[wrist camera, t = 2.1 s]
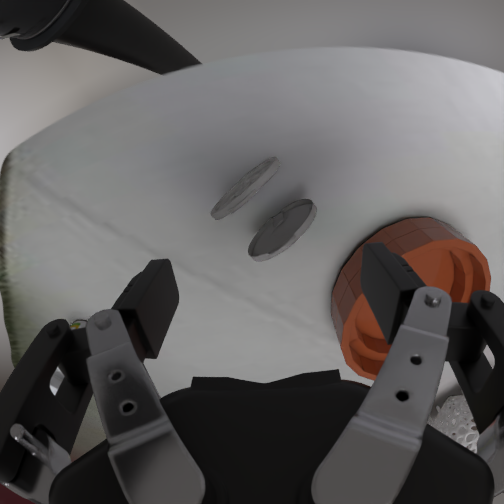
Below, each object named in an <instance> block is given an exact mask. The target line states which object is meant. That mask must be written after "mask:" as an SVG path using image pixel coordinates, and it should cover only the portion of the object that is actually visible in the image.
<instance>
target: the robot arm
mask: <svg viewBox="0 0 504 504" xmlns="http://www.w3.org/2000/svg"><path fill="white" fill-rule="evenodd" d="M71 2H72V0H0V36H2V37H0V39H5V38H8V37H15V38H19V39H23V40H30V39H33V38H36V37H38V36H40V35H41V34H43V33H44V32H46V31H47V30H48V29H49V28H50V27H51V26H53V25H54V24H55V23H56V22H57V20H58V19H59V18H60V17H61V16H62V15H63V13H64V12H65V11H66V9H67V8H68V7H69V5H70V4H71ZM360 282H361V289H362V292H363V294H364V296H365V298H366V300H367V302H368V304H369V306H370V308H371V310H372V312H373V314H374V316H375V318H376V321H377V323H378V325H379V327H380V329H381V331H382V333H383V336H384V338H385V340H386V342H387V345H390V344H392V346H391V348H390V350H389V352H388V354H387V357H386V359H385V361H384V363H383V365H382V367H381V369H380V371H379V373H378V375H377V377H376V379H375V381H374V383H373V385H372V386H371V387H370V386H367V385H365V384H362V383H359V382H355V381H349V380H341V377H340V373H339V369H337V370H329V371H320V372H311V373H302V374H299V375H295V376H292V377H288V378H285V379H281V380H278V381H274V382H270V383H257V382H251V381H245V380H240V379H234V378H229V377H193V379H192V383H191V387H189V388H185V389H181V390H178V391H175V392H172V393H170V394H168V395H166V396H164V397H162V398H161V397H160V395H159V393H158V391H157V389H156V387H155V385H154V383H153V382H152V380H151V378H150V376H149V374H148V372H147V370H146V368H145V366H144V364H143V362H144V360H145V358H150V359H157V356H158V354H159V351H160V349H161V346H162V344H163V341H164V338H165V336H166V333H167V331H168V328H169V326H170V323H171V321H172V318H173V316H174V314H175V311H176V309H177V306H178V303H179V291H178V287H177V284H176V280H175V276H174V273H173V269H172V265H171V262H170V260H169V259H157V260H151V261H150V262H149V263H148V265H147V266H146V267H145V269H144V270H143V272H140V273H139V274H137V275H136V276H135V277H133V278H132V280H131V281H130V282H129V284H128V285H127V287H126V288H125V289H124V291H123V293H122V294H121V295H120V296H119V298H118V299H117V301H116V302H115V304H114V305H113V307H112V308H111V309H106V310H102V311H99V312H97V313H95V314H94V315H92V316H91V317H90V318H89V319H88V321H87V323H86V326H85V327H83V328H78V329H73V330H72V329H71V328H70V326H69V324H68V322H67V321H66V320H64V319H57V320H54V321H51V322H49V323H48V324H47V325H45V326H44V327H43V328H42V329H41V331H40V332H39V334H38V335H37V336H36V338H35V339H34V341H33V342H32V343H31V345H30V346H29V348H28V349H27V351H26V352H25V354H24V355H23V357H22V358H21V360H20V361H19V363H18V364H17V366H16V367H15V369H14V371H13V372H12V374H11V375H10V377H9V379H8V380H7V382H6V384H5V385H4V387H3V389H2V390H1V392H0V483H1V484H3V485H4V486H6V487H7V488H9V489H10V490H12V491H13V492H15V493H17V494H18V495H20V496H22V497H24V498H27V499H29V500H30V501H32V502H34V503H36V504H492V502H493V498H494V497H496V496H497V495H499V494H501V493H504V303H503V302H502V301H501V299H500V298H499V297H498V296H496V295H495V294H493V293H491V292H489V291H486V290H477V291H474V292H473V293H472V294H471V297H470V300H469V303H463V302H452V300H451V297H450V296H449V294H448V293H446V292H445V291H443V290H442V289H439V288H436V287H431V286H427V285H426V284H425V283H424V282H423V280H422V279H421V278H420V277H419V276H418V274H417V273H416V272H415V271H414V270H413V268H412V267H411V266H409V264H408V262H407V261H406V260H405V259H404V258H403V257H401V256H400V255H398V254H396V253H391V252H390V250H389V249H388V248H387V247H386V246H385V245H384V243H383V242H374V243H365V244H364V246H363V253H362V265H361V276H360ZM486 345H488V346H489V348H490V350H491V351H492V353H493V355H494V358H495V365H494V369H492V367H491V365H490V363H489V362H488V360H487V358H486V356H485V355H484V353H483V351H484V349H485V347H486ZM445 361H449V363H450V365H451V367H452V370H453V372H454V374H455V376H456V378H457V380H458V383H459V385H460V387H461V389H462V392H463V394H464V396H465V399H466V401H467V404H468V406H469V409H470V411H471V414H472V416H473V419H474V421H475V424H476V427H477V430H478V432H479V435H480V436H479V438H478V441H477V452H476V453H474V452H473V451H471V450H469V449H468V448H466V447H464V446H463V445H461V444H459V443H458V442H456V441H454V440H453V439H451V438H450V437H448V436H446V435H445V434H443V433H442V432H440V431H438V430H437V429H435V428H434V427H432V426H431V425H429V424H427V421H428V418H429V415H430V412H431V409H432V406H433V403H434V400H435V397H436V393H437V390H438V386H439V383H440V379H441V375H442V371H443V367H444V363H445ZM57 367H58V368H59V369H60V371H61V372H62V374H63V375H64V376H65V377H64V379H63V380H62V382H61V384H60V386H59V388H58V390H57V392H56V394H55V395H54V394H53V393H52V391H51V388H50V380H51V378H52V376H53V374H54V372H55V371H56V369H57ZM93 393H94V397H95V401H96V405H97V408H98V412H99V415H100V418H101V422H102V425H103V428H104V431H105V434H106V437H107V439H105V440H104V441H103V442H101V443H100V444H98V445H97V446H96V447H94V448H93V449H91V450H90V451H88V452H87V453H85V454H84V455H83V456H81V457H80V458H78V459H77V460H75V461H74V462H72V463H71V458H70V454H71V451H72V448H73V445H74V442H75V439H76V436H77V434H78V431H79V428H80V426H81V423H82V420H83V418H84V415H85V413H86V410H87V407H88V405H89V402H90V400H91V398H92V395H93Z"/></svg>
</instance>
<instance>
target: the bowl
mask: <svg viewBox="0 0 504 504" xmlns="http://www.w3.org/2000/svg"><path fill="white" fill-rule="evenodd" d="M374 242H383V243H384V245H385V246H386V247H387V248H388V249H389V250H390V252H391V253H396V254H398V255H400V256H401V257H403V258H404V259H405V260H406V261H407V262H408V264H409V266H411V267H412V268H413V270H414V271H415V272H416V273H417V274H418V276H419V277H420V278H421V279H422V280H423V282H424V283H425V284H426V285H427V286H431V287H436V288H439V289H442V290H443V291H445V292H446V293H448V294H449V296H450V297H451V300H452V302H463V303H469V300H470V297H471V294H472V293H473V292H474V291H477V290H486V291H489V292H490V283H491V275H490V271H489V266H488V262H487V259H486V258H485V256H484V255H483V254H482V252H481V251H480V250H479V249H478V248H477V246H476V245H475V244H473V243H472V242H471V241H469V240H468V239H467V238H466V237H464V236H463V235H462V234H460V233H459V232H458V231H456V230H455V229H454V228H452V227H451V226H450V225H448V224H446V223H443V222H441V221H438V220H436V219H433V218H410V219H405V220H402V221H400V222H398V223H395V224H393V225H390V226H388V227H385V228H383V229H381V230H380V231H379V232H377V233H376V234H375V235H374V236H372V237H371V238H370V239H368V240H367V241H366V242H365V243H374ZM365 243H363V244H362V245H361V246H360V247H359V248H358V249H357V250H356V252H355V253H354V254H353V256H352V257H351V258H350V259H349V261H348V262H347V263H346V265H345V266H344V267H343V269H342V270H341V273H340V275H339V277H338V280H337V282H336V285H335V287H334V290H333V293H332V305H331V316H332V319H333V323H334V326H335V329H336V333H337V336H338V340H339V343H340V346H341V350H342V353H343V356H344V359H345V362H346V364H347V365H348V366H349V367H350V368H351V369H352V370H353V371H354V372H356V373H357V374H358V375H359V376H362V377H365V378H368V379H371V380H374V381H375V379H376V377H377V375H378V373H379V371H380V369H381V367H382V365H383V363H384V361H385V359H386V357H387V354H388V352H389V350H390V348H391V346H392V344H390V345H387V342H386V340H385V338H384V336H383V333H382V331H381V329H380V327H379V325H378V323H377V321H376V318H375V316H374V314H373V312H372V310H371V308H370V306H369V304H368V302H367V300H366V298H365V296H364V294H363V292H362V289H361V282H360V276H361V265H362V253H363V246H364V244H365Z"/></svg>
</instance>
